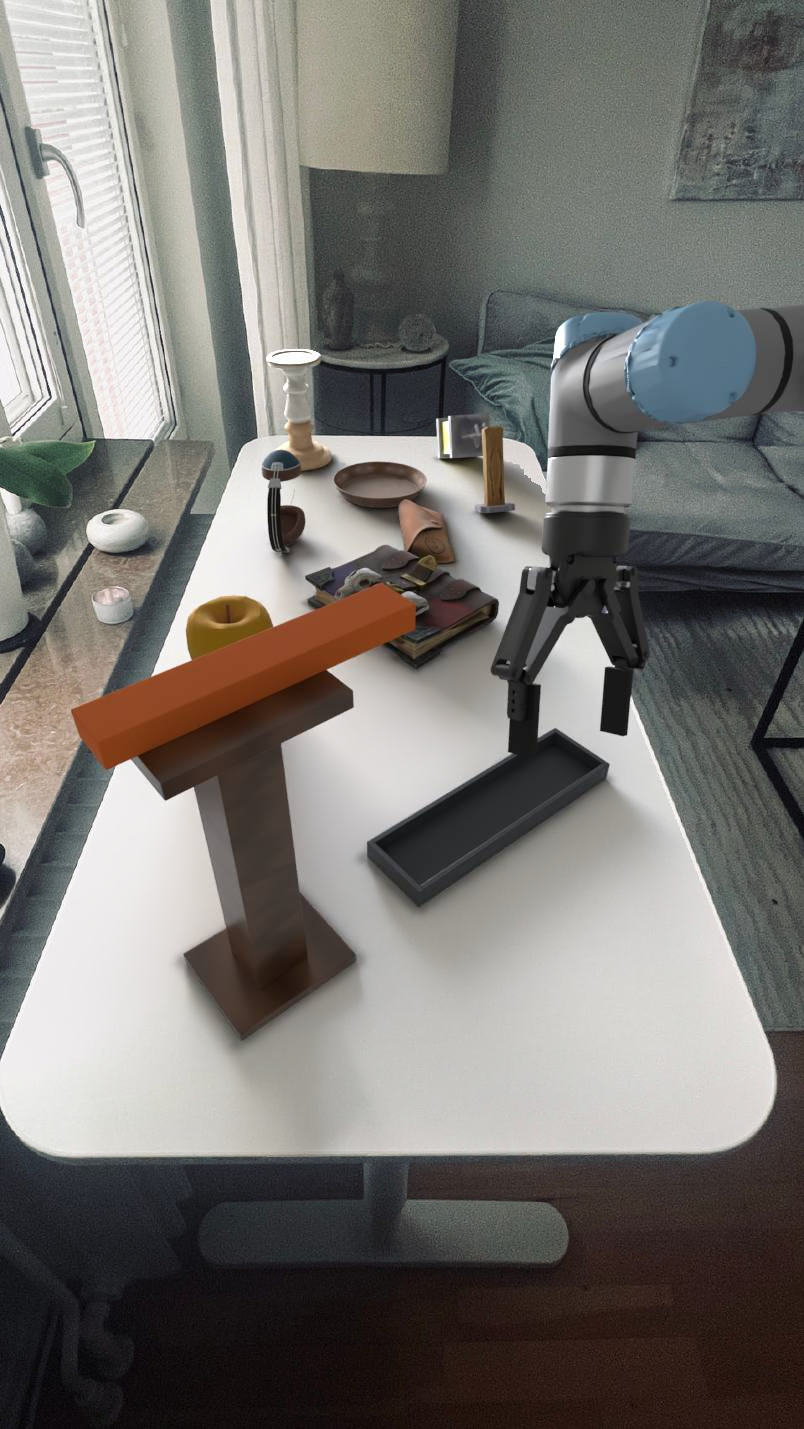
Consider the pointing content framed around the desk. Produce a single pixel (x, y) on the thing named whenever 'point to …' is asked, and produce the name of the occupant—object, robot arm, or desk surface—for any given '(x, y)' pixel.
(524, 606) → the robot arm
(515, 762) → the tray
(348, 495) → the plant saucer
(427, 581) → the book
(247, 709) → the stand
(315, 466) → the candle holder
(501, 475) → the desk lamp
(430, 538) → the sunglasses case
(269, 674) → the orange long flat bar
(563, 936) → the desk surface
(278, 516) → the headphones
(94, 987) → the desk surface
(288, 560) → the desk surface
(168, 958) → the desk surface
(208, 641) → the apple
